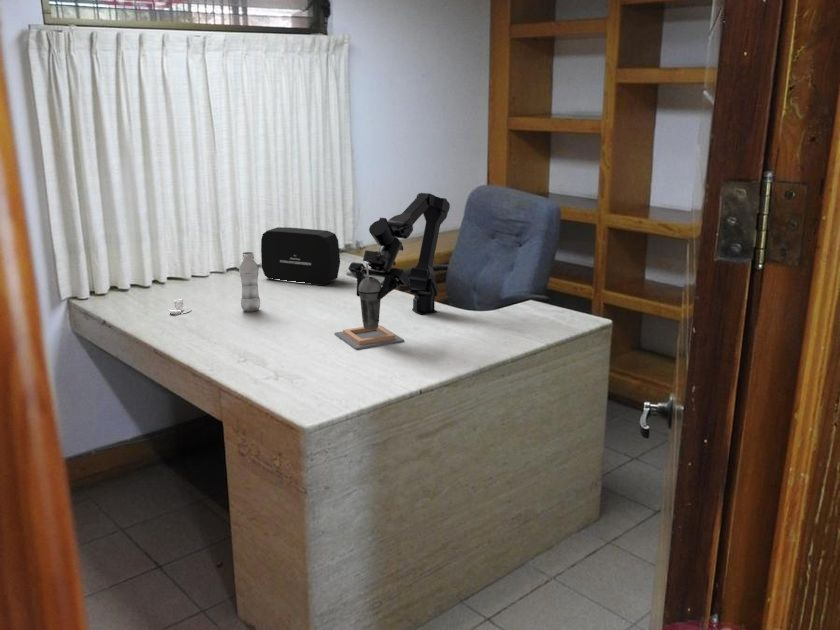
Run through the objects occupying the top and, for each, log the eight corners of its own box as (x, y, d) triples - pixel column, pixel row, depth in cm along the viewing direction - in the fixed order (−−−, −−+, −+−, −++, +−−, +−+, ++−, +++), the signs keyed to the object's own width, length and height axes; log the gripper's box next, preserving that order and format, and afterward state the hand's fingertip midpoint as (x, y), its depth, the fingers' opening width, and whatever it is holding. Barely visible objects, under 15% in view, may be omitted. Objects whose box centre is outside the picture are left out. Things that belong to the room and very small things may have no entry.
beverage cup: (387, 327, 236) (387, 263, 230) (368, 332, 231) (367, 267, 225) (373, 321, 241) (372, 258, 235) (354, 326, 237) (352, 262, 231)
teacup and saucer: (176, 317, 258) (175, 305, 256) (160, 313, 262) (159, 301, 261) (197, 311, 265) (196, 299, 263) (181, 307, 269) (180, 296, 268)
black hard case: (261, 279, 305) (259, 229, 299) (277, 272, 316) (275, 224, 310) (330, 287, 295) (329, 235, 289) (344, 280, 306) (343, 229, 300)
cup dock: (380, 327, 248) (380, 321, 247) (404, 341, 235) (404, 336, 234) (334, 334, 240) (334, 329, 240) (355, 349, 227) (355, 344, 227)
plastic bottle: (237, 312, 263) (233, 254, 257) (248, 307, 269) (245, 250, 263) (253, 314, 260) (250, 256, 254) (264, 309, 266) (261, 252, 260)
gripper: (351, 236, 236) (330, 279, 230) (403, 242, 227) (383, 287, 221) (365, 256, 245) (346, 298, 239) (417, 263, 236) (398, 307, 230)
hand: (367, 297), depth 232 cm, fingers closed on beverage cup, 7 cm apart
